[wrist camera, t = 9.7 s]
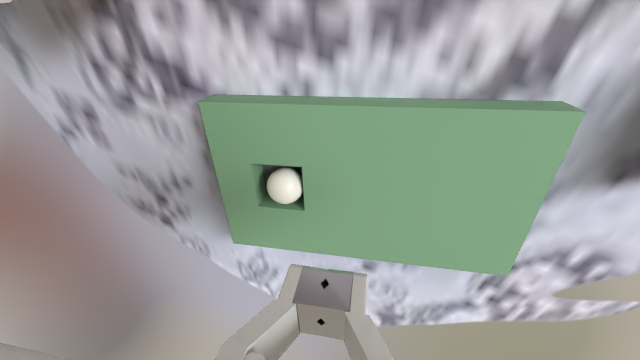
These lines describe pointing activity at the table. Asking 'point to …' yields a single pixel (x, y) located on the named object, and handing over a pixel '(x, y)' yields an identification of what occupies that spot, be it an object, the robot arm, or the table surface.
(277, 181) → the ball
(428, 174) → the green
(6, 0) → the plastic cup
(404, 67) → the table surface
